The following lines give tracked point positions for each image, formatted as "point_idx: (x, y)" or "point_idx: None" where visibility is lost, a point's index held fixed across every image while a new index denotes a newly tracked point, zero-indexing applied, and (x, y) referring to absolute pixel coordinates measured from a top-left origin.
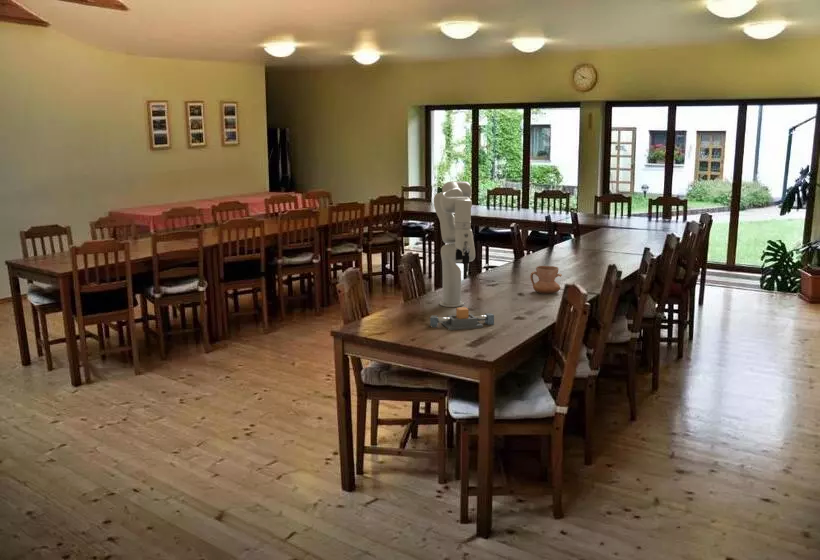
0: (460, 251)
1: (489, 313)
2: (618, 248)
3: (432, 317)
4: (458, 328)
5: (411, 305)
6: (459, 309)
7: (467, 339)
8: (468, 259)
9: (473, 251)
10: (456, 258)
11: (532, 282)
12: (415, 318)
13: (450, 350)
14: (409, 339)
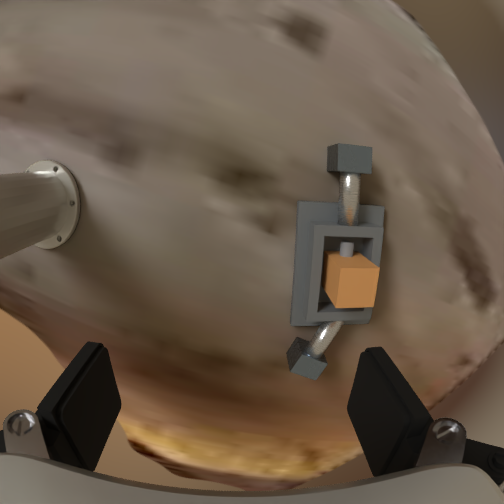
0: (63, 435)
1: (345, 153)
2: None
3: (317, 374)
4: None
5: (48, 329)
6: (366, 304)
7: (453, 295)
8: (398, 382)
9: None
10: (117, 413)
11: None
12: (195, 373)
13: (482, 348)
14: None
